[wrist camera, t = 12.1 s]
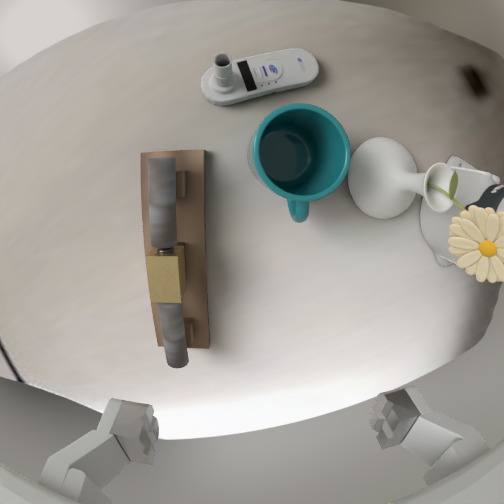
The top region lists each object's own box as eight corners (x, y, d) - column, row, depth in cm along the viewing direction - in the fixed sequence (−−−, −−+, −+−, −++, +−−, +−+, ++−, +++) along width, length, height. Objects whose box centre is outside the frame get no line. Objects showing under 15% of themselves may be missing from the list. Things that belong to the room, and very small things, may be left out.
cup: (254, 217, 36) (263, 240, 25) (242, 125, 32) (246, 106, 21) (321, 209, 36) (356, 228, 25) (312, 120, 32) (345, 102, 21)
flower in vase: (333, 145, 33) (481, 132, 10) (400, 132, 33) (546, 127, 9) (354, 237, 37) (480, 330, 14) (416, 216, 37) (547, 274, 13)
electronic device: (347, 61, 22) (203, 91, 22) (318, 84, 31) (209, 112, 31) (329, 21, 20) (188, 47, 20) (305, 52, 30) (197, 77, 30)
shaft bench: (205, 150, 33) (196, 146, 26) (210, 342, 41) (206, 374, 34) (144, 153, 32) (122, 151, 25) (160, 340, 41) (149, 371, 33)
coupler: (183, 243, 32) (177, 253, 28) (186, 290, 34) (181, 305, 30) (155, 243, 32) (145, 253, 28) (159, 289, 34) (151, 304, 30)
